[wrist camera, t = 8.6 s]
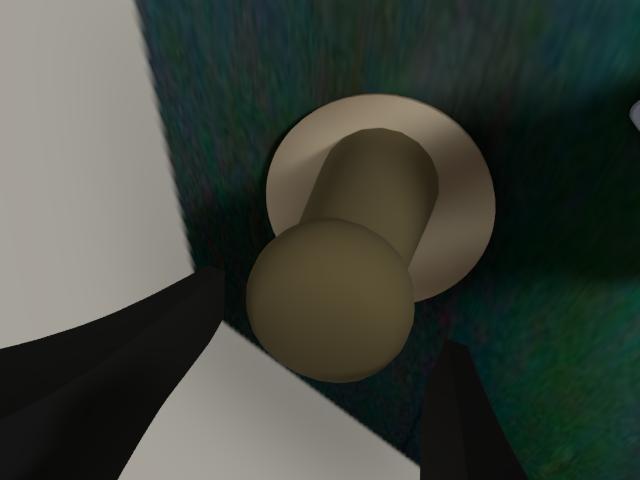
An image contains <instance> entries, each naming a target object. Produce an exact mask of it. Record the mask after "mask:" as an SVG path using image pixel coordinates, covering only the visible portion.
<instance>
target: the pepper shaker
mask: <svg viewBox="0 0 640 480" xmlns="http://www.w3.org/2000/svg"><path fill="white" fill-rule="evenodd" d="M438 195H439V180H438V173H437V171H436V168H435V165H434V163H433V160H432V158H431V157H430V155H429V154H428V153H427V152H426V151H425V149H424V148H423V147H422V146H421V145H420V144H419V142H417V141H415V140H414V139H412V138H410V137H409V136H407V135H405V134H404V133H402V132H399V131H394V130H390V129H385V128H371V129H361V130H359V131H357V132H354V133H352V134H350V135H348V136H345V137H344V138H342V139H341V140H340V141H339V142H338V143H337V144H336V145H335V146H334V147H333V148H332V149H331V150H330V152H329V153H328V155H327V157H326V159H325V161H324V163H323V165H322V167H321V170H320V172H319V174H318V177H317V179H316V182H315V184H314V187H313V189H312V191H311V194H310V196H309V199H308V201H307V204H306V206H305V208H304V211H303V213H302V216H301V218H300V221H299V223H298V224H297V225H294V226H292V227H290V228H288V229H286V230H284V231H283V232H282V233H281V234H279V235H278V236H277V237H276V238H275V239H273V240H272V241H271V242H270V243H269V244H268V245H267V246H266V247H265V248H264V249H263V251H262V252H261V253H260V254H259V256H258V258H257V260H256V262H255V264H254V266H253V268H252V270H251V273H250V276H249V279H248V282H247V291H246V308H247V314H248V318H249V321H250V324H251V327H252V330H253V333H254V334H255V336H256V337H257V339H258V340H259V342H260V343H261V345H262V346H263V348H264V349H265V350H266V351H267V352H269V353H270V354H271V355H272V356H273V357H274V358H275V359H276V360H277V361H278V362H280V363H281V364H283V365H285V366H286V367H288V368H290V369H291V370H293V371H295V372H296V373H298V374H301V375H304V376H307V377H310V378H313V379H316V380H319V381H327V382H335V383H344V382H352V381H360V380H362V379H364V378H366V377H369V376H371V375H373V374H376V373H377V372H379V371H380V370H382V369H383V368H385V367H386V366H387V365H388V364H389V363H390V362H391V361H392V360H393V359H394V358H395V357H396V356H397V355H398V354H399V353H400V352H401V350H402V348H403V346H404V344H405V342H406V340H407V337H408V335H409V332H410V330H411V327H412V324H413V321H414V311H415V306H414V289H413V284H412V281H411V277H410V275H409V272H408V267H409V265H410V263H411V260H412V258H413V256H414V254H415V251H416V249H417V247H418V244H419V242H420V240H421V237H422V235H423V233H424V230H425V228H426V226H427V224H428V221H429V219H430V217H431V214H432V212H433V209H434V206H435V204H436V201H437V198H438Z"/></svg>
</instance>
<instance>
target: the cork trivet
mask: <svg viewBox="0 0 640 480" xmlns="http://www.w3.org/2000/svg"><path fill="white" fill-rule="evenodd" d="M371 128H385V129H390V130H394V131H399V132H402V133H404V134H405V135H407V136H409V137H410V138H412V139H414V140H415V141H417V142H419V144H420V145H421V146H422V147H423V148H424V149H425V151H426V152H427V153H428V154H429V155H430V157H431V158H432V160H433V163H434V165H435V168H436V171H437V173H438V180H439V195H438V198H437V201H436V204H435V206H434V209H433V212H432V214H431V217H430V219H429V221H428V224H427V226H426V228H425V230H424V233H423V235H422V237H421V240H420V242H419V244H418V247H417V249H416V251H415V254H414V256H413V258H412V260H411V263H410V265H409V267H408V272H409V275H410V277H411V281H412V284H413V289H414V302H417V301H421V300H424V299H427V298H430V297H433V296H435V295H437V294H439V293H441V292H443V291H445V290H447V289H448V288H450V287H452V286H453V285H455V284H456V283H457V282H459V281H460V280H461V279H462V278H463V277H465V276H466V275H467V274H468V273H469V271H470V270H471V269H472V268H473V267H474V266H475V265H476V263H477V262H478V260H479V259H480V258H481V256H482V255H483V253H484V251H485V249H486V247H487V245H488V243H489V240H490V237H491V233H492V230H493V226H494V219H495V195H494V189H493V183H492V178H491V175H490V172H489V169H488V166H487V163H486V161H485V159H484V157H483V155H482V153H481V151H480V149H479V148H478V146H477V145H476V143H475V142H474V141H473V139H472V138H471V136H470V135H469V134H468V133H467V132H466V131H465V130H464V129H463V128H462V127H461V126H460V125H459V124H458V123H457V122H456V121H454V120H453V119H452V118H450V117H449V116H448V115H447V114H445V113H444V112H442V111H440V110H438V109H437V108H435V107H433V106H431V105H430V104H427V103H424V102H422V101H419V100H417V99H414V98H411V97H406V96H402V95H398V94H390V93H362V94H357V95H351V96H347V97H343V98H340V99H337V100H334V101H332V102H330V103H328V104H326V105H324V106H322V107H320V108H318V109H317V110H315V111H314V112H312V113H311V114H309V115H308V116H307V117H305V118H304V119H303V120H301V121H300V122H299V123H298V124H297V125H296V126H295V127H294V128H293V129H292V130H291V131H290V132H289V133H288V135H287V136H286V137H285V138H284V140H283V141H282V143H281V144H280V146H279V148H278V149H277V151H276V153H275V155H274V158H273V160H272V163H271V165H270V169H269V173H268V177H267V187H266V203H267V209H268V215H269V219H270V222H271V226H272V228H273V231H274V233H275V235H276V237H277V236H278V235H279V234H281V233H282V232H283V231H284V230H286V229H288V228H290V227H292V226H294V225H297V224H298V223H299V221H300V218H301V216H302V213H303V211H304V208H305V206H306V204H307V201H308V199H309V196H310V194H311V191H312V189H313V187H314V184H315V182H316V179H317V177H318V174H319V172H320V170H321V167H322V165H323V163H324V161H325V159H326V157H327V155H328V153H329V152H330V150H331V149H332V148H333V147H334V146H335V145H336V144H337V143H338V142H339V141H340V140H341V139H342V138H344V137H345V136H348V135H350V134H352V133H354V132H357V131H359V130H361V129H371Z"/></svg>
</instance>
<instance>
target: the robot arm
mask: <svg viewBox="0 0 640 480" xmlns="http://www.w3.org/2000/svg"><path fill="white" fill-rule="evenodd" d="M629 116H630V118H631V120H632V122H633V123H634V124H635V126H636V127H637V129H638V130H639V131H640V100H639V101H638V102H637V103H635V104H634V105H633V106H632V108H631V110H630V115H629ZM224 308H225V271H224V270H221V269H218V268H215V267H211V266H206V267H204V268H202V269H200V270H198V271H197V272H195V273H193V274H191V275H189V276H188V277H186V278H184V279H182V280H180V281H178V282H176V283H174V284H172V285H170V286H169V287H167V288H165V289H163V290H161V291H159V292H157V293H155V294H153V295H151V296H149V297H147V298H145V299H143V300H141V301H139V302H136V303H134V304H132V305H130V306H128V307H126V308H123V309H121V310H119V311H117V312H115V313H112V314H110V315H107V316H105V317H103V318H100V319H97V320H95V321H92V322H89V323H87V324H84V325H81V326H78V327H75V328H72V329H69V330H66V331H63V332H60V333H57V334H54V335H50V336H47V337H44V338H41V339H37V340H33V341H30V342H26V343H22V344H19V345H15V346H10V347H6V348H2V349H0V480H118V478H119V476H120V474H121V472H122V471H123V469H124V467H125V466H126V464H127V462H128V460H129V459H130V457H131V455H132V454H133V452H134V450H135V449H136V447H137V445H138V443H139V442H140V440H141V438H142V437H143V435H144V433H145V432H146V430H147V429H148V427H149V425H150V424H151V422H152V421H153V419H154V417H155V416H156V414H157V413H158V411H159V409H160V408H161V406H162V405H163V404H164V402H165V401H166V399H167V398H168V397H169V395H170V394H171V393H172V391H173V390H174V389H175V387H176V386H177V385H178V383H179V382H180V381H181V380H182V378H183V377H184V376H185V374H186V373H187V372H188V370H189V369H190V368H191V366H192V365H193V364H194V362H195V361H196V360H197V358H198V357H199V356H200V354H201V353H202V352H203V350H204V349H205V348H206V346H207V345H208V344H209V342H210V341H211V339H212V337H213V336H214V334H215V332H216V330H217V329H218V327H219V325H220V323H221V322H222V320H223V318H224ZM420 480H529V478H528V477H527V475H526V473H525V472H524V470H523V468H522V466H521V465H520V463H519V461H518V459H517V457H516V455H515V453H514V452H513V450H512V448H511V446H510V444H509V442H508V440H507V438H506V436H505V434H504V432H503V430H502V428H501V426H500V424H499V421H498V419H497V417H496V415H495V413H494V410H493V408H492V406H491V404H490V401H489V399H488V397H487V394H486V392H485V390H484V387H483V385H482V382H481V380H480V377H479V374H478V372H477V369H476V367H475V364H474V361H473V358H472V355H471V353H470V350H469V348H468V346H466V345H463V344H459V343H456V342H453V341H450V340H447V339H446V341H445V343H444V346H443V348H442V350H441V352H440V354H439V357H438V359H437V361H436V363H435V365H434V368H433V370H432V372H431V374H430V376H429V378H428V381H427V383H426V389H425V395H424V402H423V410H422V421H421V459H420Z"/></svg>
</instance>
